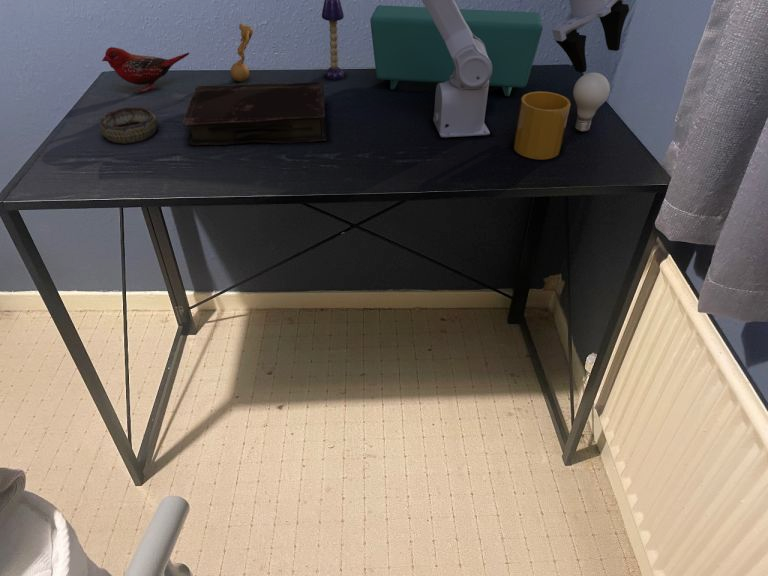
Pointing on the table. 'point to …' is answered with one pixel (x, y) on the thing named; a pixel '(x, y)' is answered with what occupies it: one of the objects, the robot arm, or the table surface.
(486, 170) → the table surface
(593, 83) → the lightbulb
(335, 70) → the toy lamp
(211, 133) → the diary
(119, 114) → the decorative ring
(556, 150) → the mug
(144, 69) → the decorative bird figurine
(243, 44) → the figurine
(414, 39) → the radio
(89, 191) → the table surface
